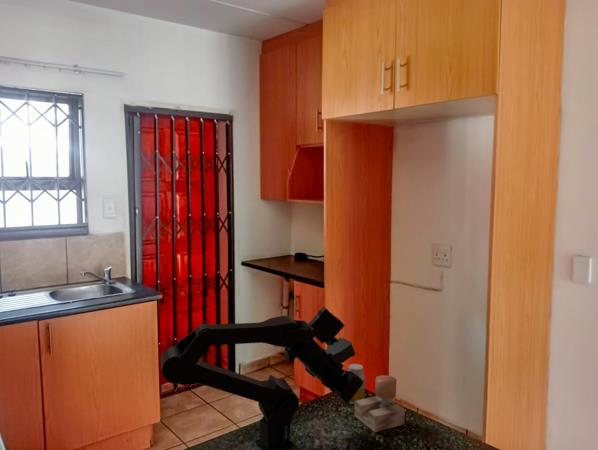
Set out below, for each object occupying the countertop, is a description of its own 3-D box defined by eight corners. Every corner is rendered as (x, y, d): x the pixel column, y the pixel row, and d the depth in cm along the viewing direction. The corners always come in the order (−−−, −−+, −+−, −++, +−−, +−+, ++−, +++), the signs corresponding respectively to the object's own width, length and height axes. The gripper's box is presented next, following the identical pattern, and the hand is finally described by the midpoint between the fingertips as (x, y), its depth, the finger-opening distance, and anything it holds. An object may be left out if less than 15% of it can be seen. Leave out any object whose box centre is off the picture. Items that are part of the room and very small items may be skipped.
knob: (382, 419, 116) (383, 385, 116) (370, 410, 121) (371, 377, 120) (399, 414, 119) (400, 381, 118) (387, 406, 123) (388, 374, 123)
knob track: (374, 432, 113) (375, 416, 113) (354, 415, 121) (354, 400, 121) (404, 424, 117) (404, 409, 117) (382, 408, 125) (383, 394, 125)
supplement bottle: (341, 398, 131) (342, 364, 131) (357, 394, 134) (358, 361, 133) (351, 406, 127) (352, 371, 126) (368, 402, 129) (369, 368, 128)
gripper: (357, 342, 103) (395, 382, 109) (316, 320, 120) (351, 355, 125) (325, 383, 100) (366, 422, 106) (288, 354, 117) (325, 389, 122)
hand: (352, 394), depth 115 cm, fingers closed
